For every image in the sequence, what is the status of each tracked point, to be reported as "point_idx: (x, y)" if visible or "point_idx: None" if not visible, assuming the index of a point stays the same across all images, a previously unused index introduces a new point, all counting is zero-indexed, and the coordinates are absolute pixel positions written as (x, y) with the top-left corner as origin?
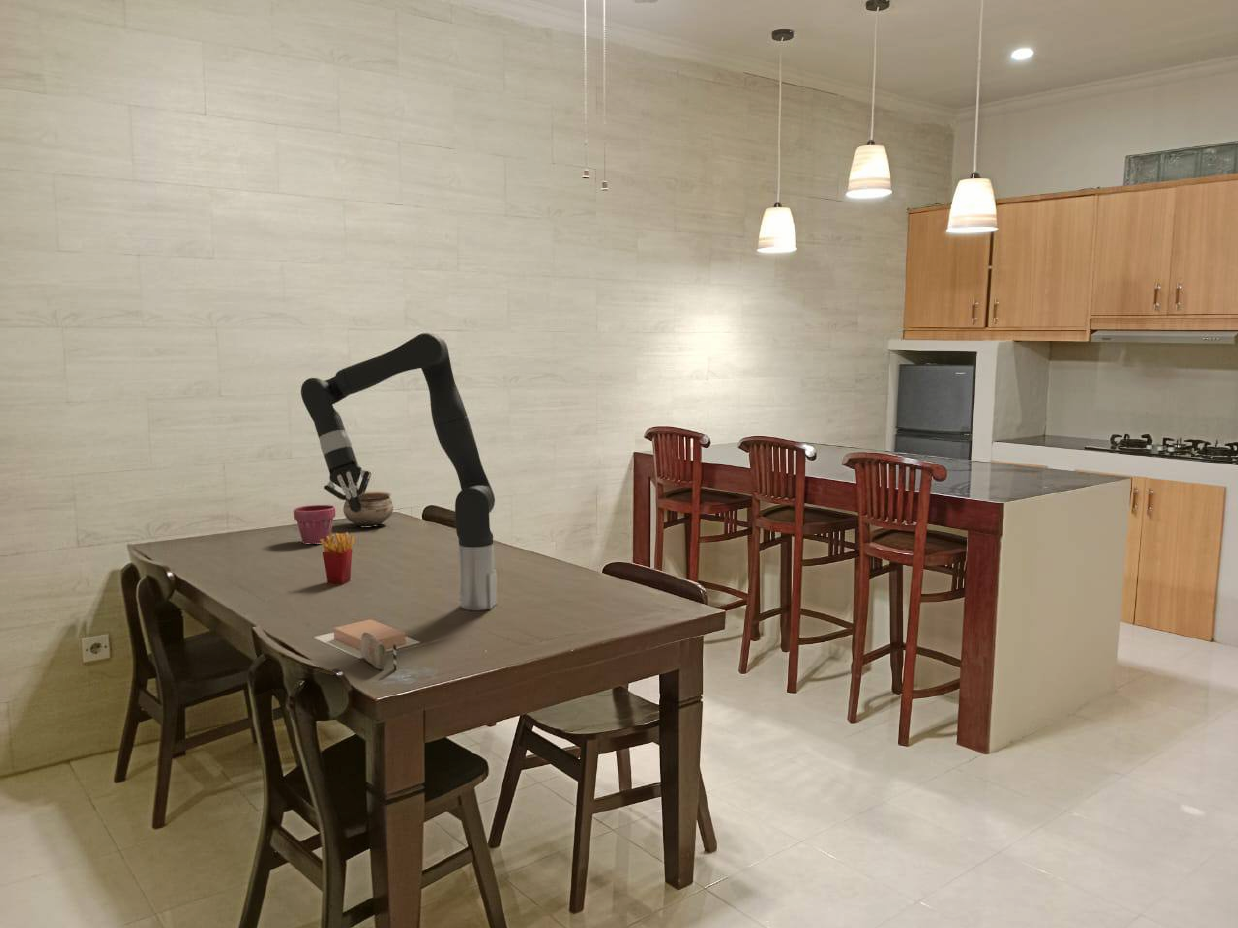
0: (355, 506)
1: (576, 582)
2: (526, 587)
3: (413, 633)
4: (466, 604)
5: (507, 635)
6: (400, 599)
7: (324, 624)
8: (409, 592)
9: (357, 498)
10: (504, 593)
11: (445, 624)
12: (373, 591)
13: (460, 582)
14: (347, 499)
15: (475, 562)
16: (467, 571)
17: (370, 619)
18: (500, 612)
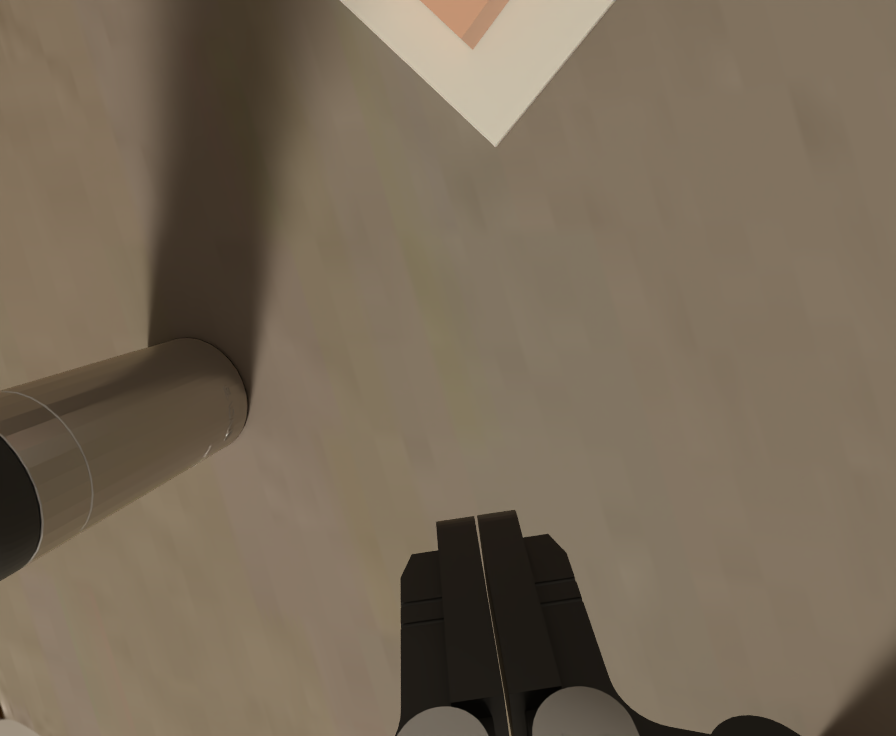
0: (479, 564)
1: (26, 621)
2: (130, 592)
3: (300, 35)
4: (202, 350)
5: (13, 53)
6: (485, 501)
7: (721, 129)
8: None
9: (421, 699)
10: (168, 534)
11: (228, 167)
12: (630, 627)
13: (174, 402)
14: (624, 719)
15: (20, 386)
16: (90, 380)
17: (460, 35)
18: (112, 318)
